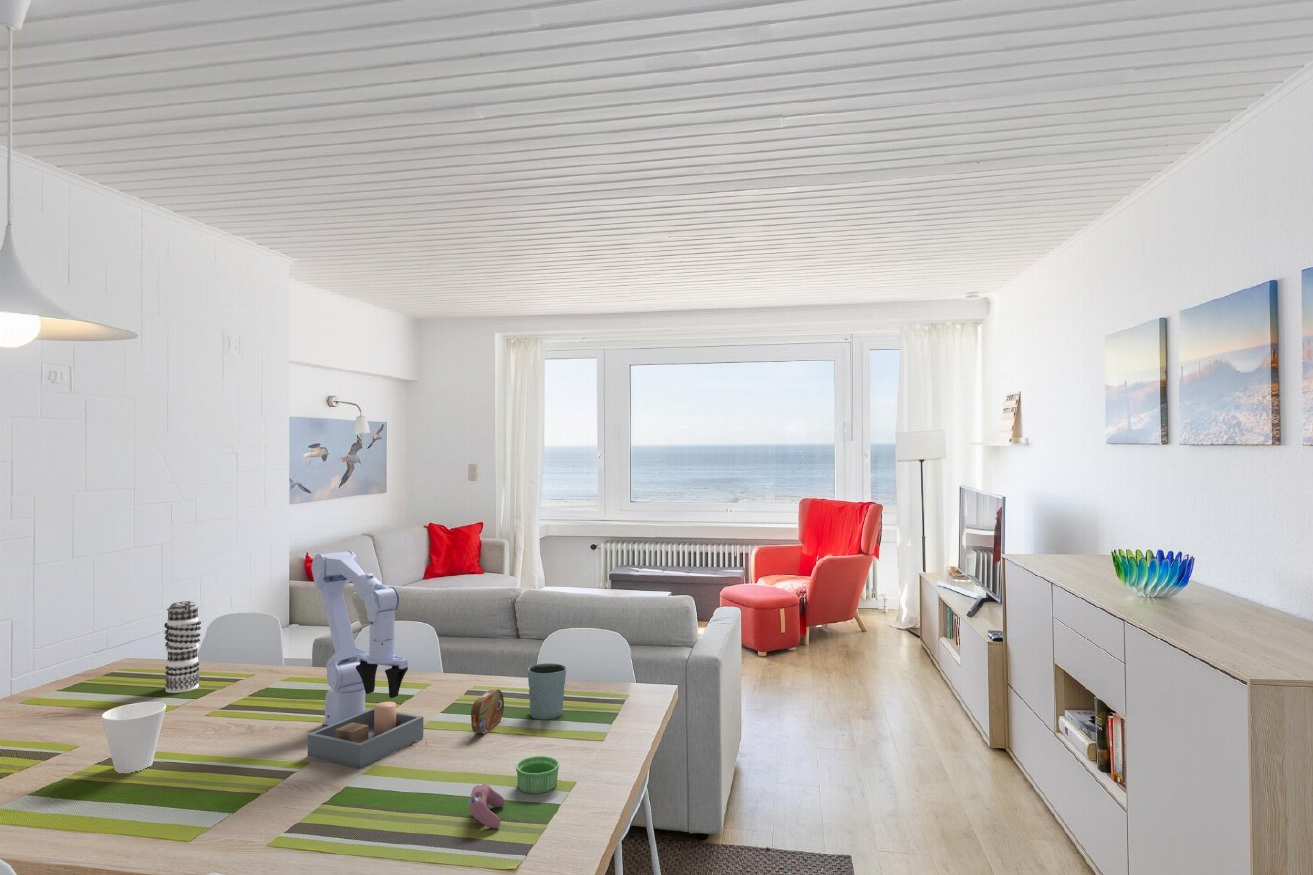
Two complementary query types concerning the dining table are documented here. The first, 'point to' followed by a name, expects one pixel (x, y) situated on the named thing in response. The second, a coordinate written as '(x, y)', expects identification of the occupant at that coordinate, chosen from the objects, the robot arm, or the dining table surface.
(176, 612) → the decorative candle
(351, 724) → the cube
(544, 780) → the ramekin
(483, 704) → the tin
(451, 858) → the dining table surface
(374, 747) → the tote
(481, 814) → the video game controller
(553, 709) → the grey plant pot
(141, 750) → the cup
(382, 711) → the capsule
